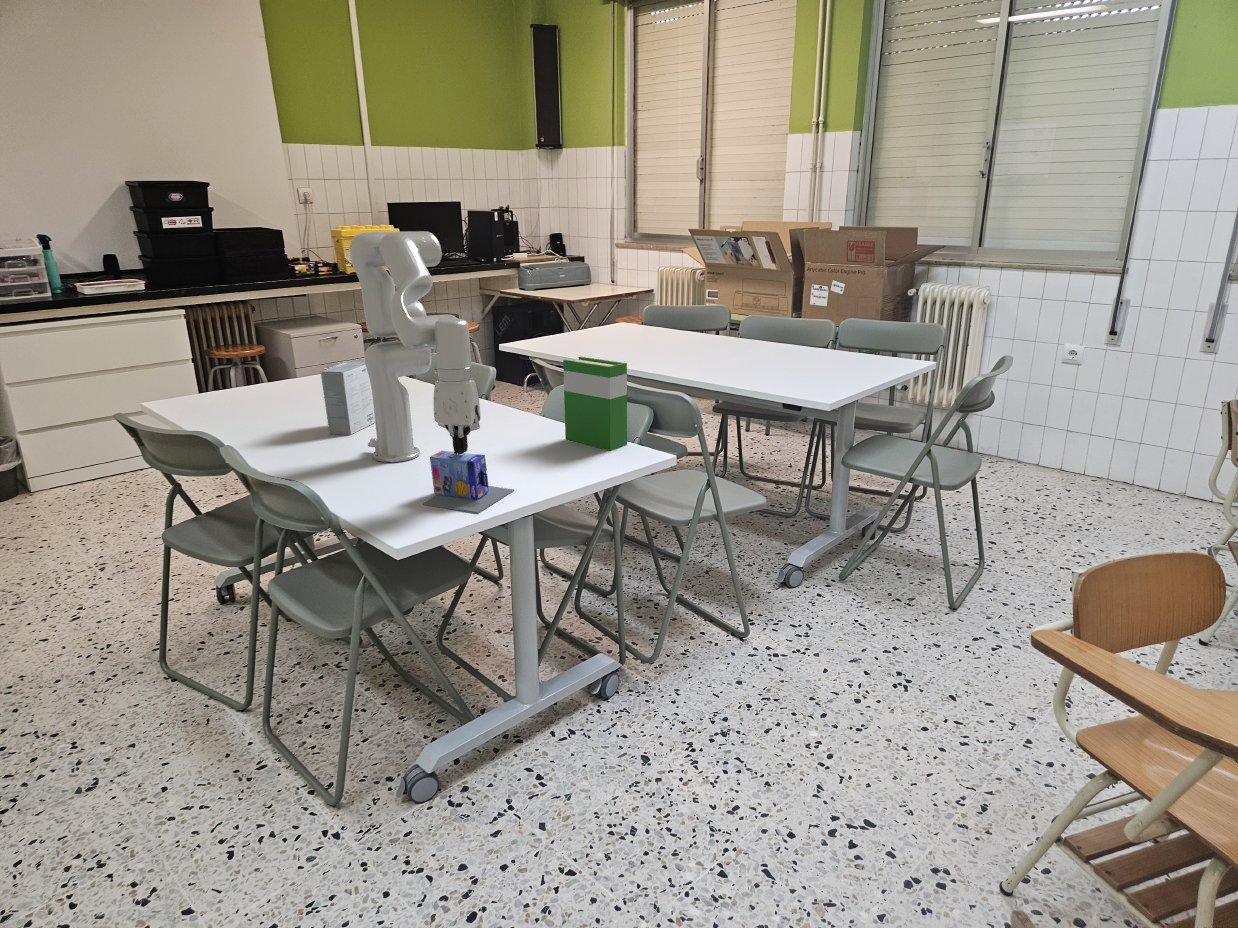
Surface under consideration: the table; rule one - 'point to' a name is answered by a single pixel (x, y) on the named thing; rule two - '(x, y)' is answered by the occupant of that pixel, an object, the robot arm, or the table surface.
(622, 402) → the hardback book
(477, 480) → the ink cartridge box
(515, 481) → the table surface
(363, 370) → the hard drive box
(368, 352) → the robot arm
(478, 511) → the mat
